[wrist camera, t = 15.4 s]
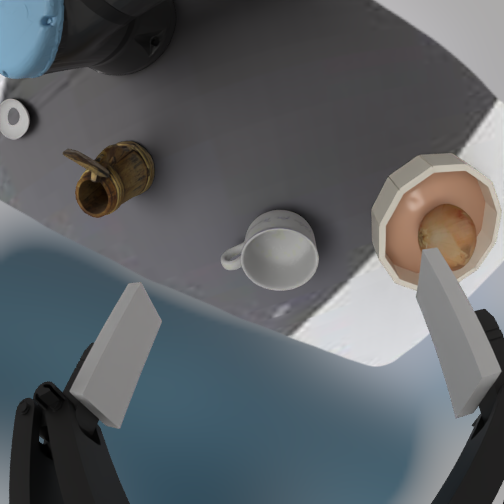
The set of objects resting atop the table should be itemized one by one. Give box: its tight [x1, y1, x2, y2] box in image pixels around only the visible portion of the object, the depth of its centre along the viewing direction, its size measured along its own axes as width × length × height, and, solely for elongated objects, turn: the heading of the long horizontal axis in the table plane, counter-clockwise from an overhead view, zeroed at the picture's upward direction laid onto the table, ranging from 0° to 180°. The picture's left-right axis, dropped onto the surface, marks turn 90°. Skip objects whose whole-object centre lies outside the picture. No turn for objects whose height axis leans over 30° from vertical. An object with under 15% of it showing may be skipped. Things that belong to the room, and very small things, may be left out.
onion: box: [418, 204, 477, 271], centre depth 39 cm, size 10×10×10 cm
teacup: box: [221, 210, 319, 291], centre depth 45 cm, size 14×11×8 cm
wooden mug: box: [63, 141, 154, 218], centre depth 36 cm, size 9×14×18 cm, turn 152°
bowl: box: [371, 153, 502, 291], centre depth 42 cm, size 22×22×5 cm
